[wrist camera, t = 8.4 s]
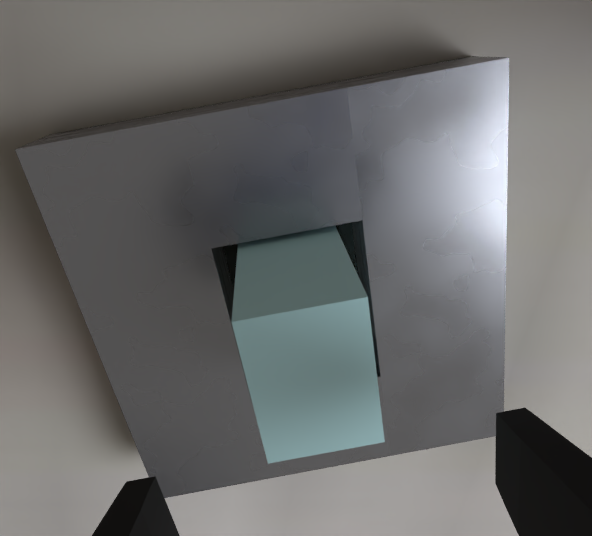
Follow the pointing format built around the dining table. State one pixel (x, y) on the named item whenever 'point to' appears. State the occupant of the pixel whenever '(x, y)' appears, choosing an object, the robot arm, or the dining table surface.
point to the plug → (306, 345)
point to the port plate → (281, 221)
